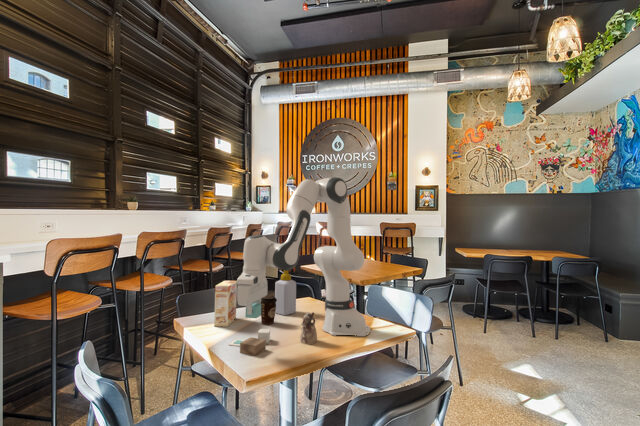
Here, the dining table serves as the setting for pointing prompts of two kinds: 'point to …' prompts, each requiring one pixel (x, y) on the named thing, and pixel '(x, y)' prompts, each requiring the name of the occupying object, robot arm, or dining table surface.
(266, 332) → the cream cube
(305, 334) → the figurine
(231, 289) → the coffeecake box
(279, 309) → the soap bottle
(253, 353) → the walnut base
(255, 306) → the teal cube
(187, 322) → the dining table surface
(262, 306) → the coffee cup
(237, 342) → the tile
